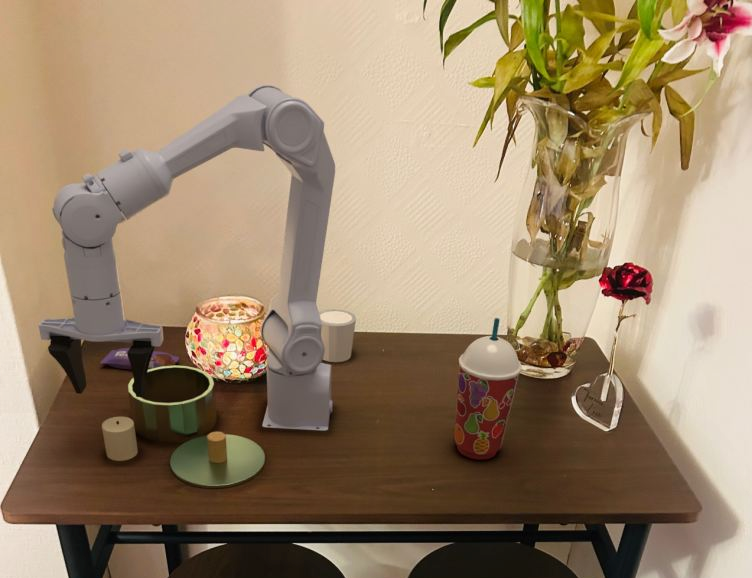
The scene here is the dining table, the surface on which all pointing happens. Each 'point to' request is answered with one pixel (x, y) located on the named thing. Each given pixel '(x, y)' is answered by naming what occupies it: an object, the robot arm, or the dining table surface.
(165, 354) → the snack package
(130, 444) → the candle
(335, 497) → the dining table surface
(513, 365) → the smoothie
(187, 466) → the tin lid
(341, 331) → the white cup
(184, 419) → the tin
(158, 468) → the dining table surface
